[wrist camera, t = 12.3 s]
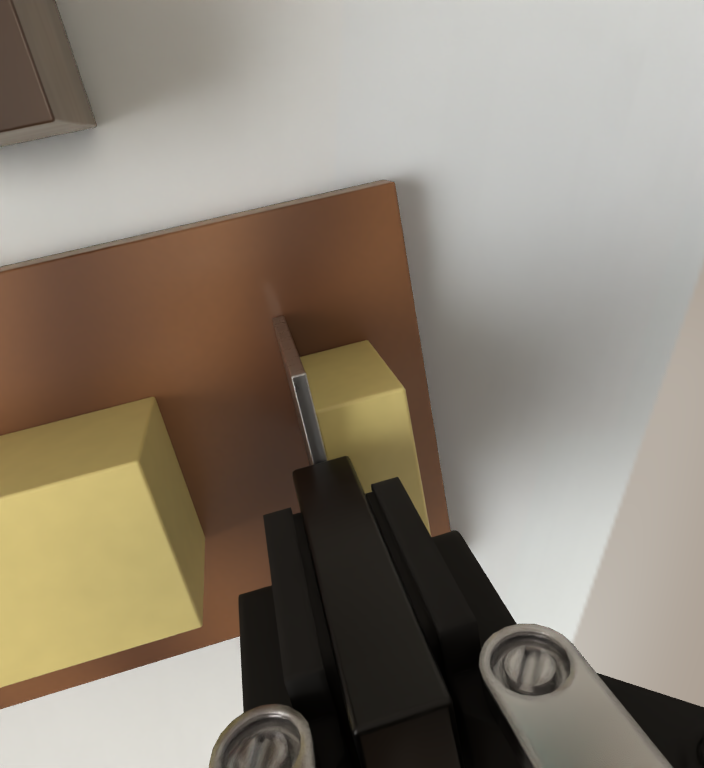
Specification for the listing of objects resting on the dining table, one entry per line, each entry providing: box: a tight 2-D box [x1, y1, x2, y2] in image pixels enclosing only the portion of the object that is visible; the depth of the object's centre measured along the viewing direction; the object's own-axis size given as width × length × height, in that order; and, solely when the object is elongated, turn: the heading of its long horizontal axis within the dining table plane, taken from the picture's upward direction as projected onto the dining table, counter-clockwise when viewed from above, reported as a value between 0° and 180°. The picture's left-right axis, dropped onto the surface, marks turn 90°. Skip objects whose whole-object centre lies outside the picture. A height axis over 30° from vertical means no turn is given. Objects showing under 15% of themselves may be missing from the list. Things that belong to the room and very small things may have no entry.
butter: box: [0, 397, 205, 688], centre depth 14 cm, size 7×4×4 cm, turn 101°
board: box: [0, 180, 451, 709], centre depth 17 cm, size 18×12×1 cm, turn 101°
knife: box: [272, 316, 465, 768], centre depth 12 cm, size 1×7×10 cm, turn 11°
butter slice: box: [300, 340, 431, 536], centre depth 15 cm, size 2×4×4 cm, turn 11°
